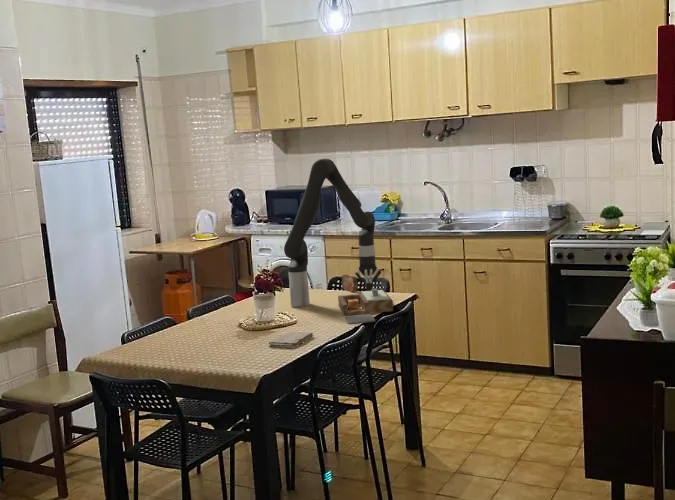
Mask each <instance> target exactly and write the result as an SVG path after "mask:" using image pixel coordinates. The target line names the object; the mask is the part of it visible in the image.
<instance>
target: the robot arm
mask: <svg viewBox="0 0 675 500" xmlns="http://www.w3.org/2000/svg"><path fill="white" fill-rule="evenodd" d="M338 169H339V168H337V166H336V164H335V162H334V161H333V160H332V159H329V158H320V159H316V160H315V161H314V162H313V164H312V165H311V168H310V172H309V173H310V174H309V177H308V181H307V184H306V187H305V191H304V193H303V197H302V199H301V202H300V205H299V207H298V210H297V214H296V216H295V219H294V222H293V225H292V228H291V231H290V233H289V234H288V237H287V239H286V241H285V243H284V245H283V246H284V247H283V252H284V254H285V256H286V257H287V258H288V259H290V261H289V264H288V266H287V270H288V273H287V274H288V280H289V281H288V282H289V296H290V297H289V298H290V307H292V308H302V307H306V306H310V304H311V303H310V302H311V301H310V292H309V291H310V288H309V278H308V277H309V276H308V265H309V253H308V245H307V243H306V241H305V240H304V239H305V236H306V234H307V232H308V231H309V230H310V228H311V227H312V226H313V223H315V220H316V219H317V215H318V214H319V213H318V212H319V211H320V206H321V191H322V187H323V185H324V182H325V180H327V181H329V183H330V184H331V185H332V186H333V187H334V190H335V192H336V193H337V197H338V200H340V202H341V204H342V205H343V206H344V207H345V209H346V210H347V211H348V213H349V215H350V218H351V219H352V221H353V223H354V224H355V225H356V226H357V227H358V228H360V229H361V231H360V232H359V234H358V261H359V265H358V270H356V271H355V272H354V274H355V277H356V278H357V279H359V280H360V281H361V282H362V283H363V284H365V290H366V291H372V289H373V283H374V282H376V281H377V280H378V278H379V276H380V275H381V273H382V271H381V270H380V269H378V267H377V263H376V249H375V242H374V233H375V226H376V218H375V216H374V214H373V213H372V212H371V211H364V210H363V209H362V208H361V207H362V203H361V201H360V200H359V198H358V197H357V196H356V194H354V192H353V191H352V190H351V188H350V187H349V185H348V184H347V182H346V181H345V179H344V178H343V176H342V174H341V173H340V171H339V170H338ZM361 274H362V275H363V277H364V278H363V277H362V276H361ZM373 275H374V276H373Z"/></svg>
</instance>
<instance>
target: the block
mask: <svg viewBox="0 0 675 500" xmlns="http://www.w3.org/2000/svg"><path fill="white" fill-rule="evenodd" d="M351 310H360V305H359V301H358V299H352V300H348V311H351Z"/></svg>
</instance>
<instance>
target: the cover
mask: <svg viewBox="0 0 675 500" xmlns="http://www.w3.org/2000/svg"><path fill="white" fill-rule="evenodd" d="M361 294H363V296H364V297H365V298H366V300H367V301H368V302H369V301H379V300H389V297H390V296H389V295H388V294H387V295H388V296H389V297H388V296H387V295H386V294H385V293H384V290H383V289H377V288H372V290H371V291H367V290H366V291H361Z"/></svg>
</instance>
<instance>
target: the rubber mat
mask: <svg viewBox="0 0 675 500" xmlns="http://www.w3.org/2000/svg"><path fill="white" fill-rule="evenodd" d="M344 319H345V320H346V322H347V324H348V325H356V324H364V323H373V322H374V323H375V322H376V319H375V317H374V316H373V315H372V313H367V314H356V315H346V316H344Z"/></svg>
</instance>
